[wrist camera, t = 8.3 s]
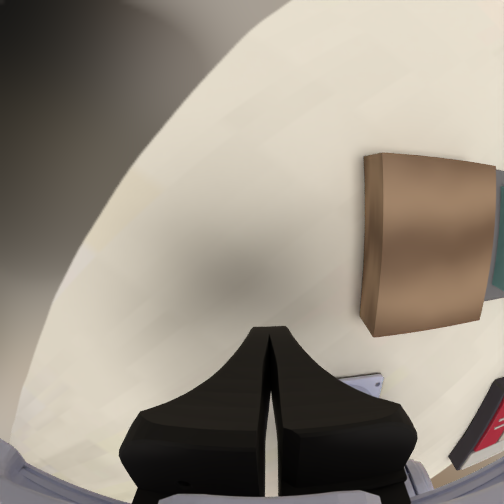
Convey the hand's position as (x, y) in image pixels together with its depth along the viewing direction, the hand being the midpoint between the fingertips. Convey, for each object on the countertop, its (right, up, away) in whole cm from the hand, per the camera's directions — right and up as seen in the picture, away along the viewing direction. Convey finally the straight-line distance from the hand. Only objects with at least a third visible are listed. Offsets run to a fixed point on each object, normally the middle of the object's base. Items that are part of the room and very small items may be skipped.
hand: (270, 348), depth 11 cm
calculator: (+34, -19, +15) cm, 41 cm away
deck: (+12, +5, +9) cm, 16 cm away
